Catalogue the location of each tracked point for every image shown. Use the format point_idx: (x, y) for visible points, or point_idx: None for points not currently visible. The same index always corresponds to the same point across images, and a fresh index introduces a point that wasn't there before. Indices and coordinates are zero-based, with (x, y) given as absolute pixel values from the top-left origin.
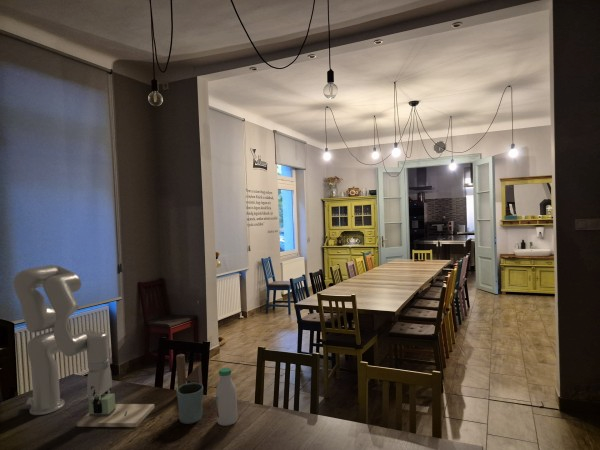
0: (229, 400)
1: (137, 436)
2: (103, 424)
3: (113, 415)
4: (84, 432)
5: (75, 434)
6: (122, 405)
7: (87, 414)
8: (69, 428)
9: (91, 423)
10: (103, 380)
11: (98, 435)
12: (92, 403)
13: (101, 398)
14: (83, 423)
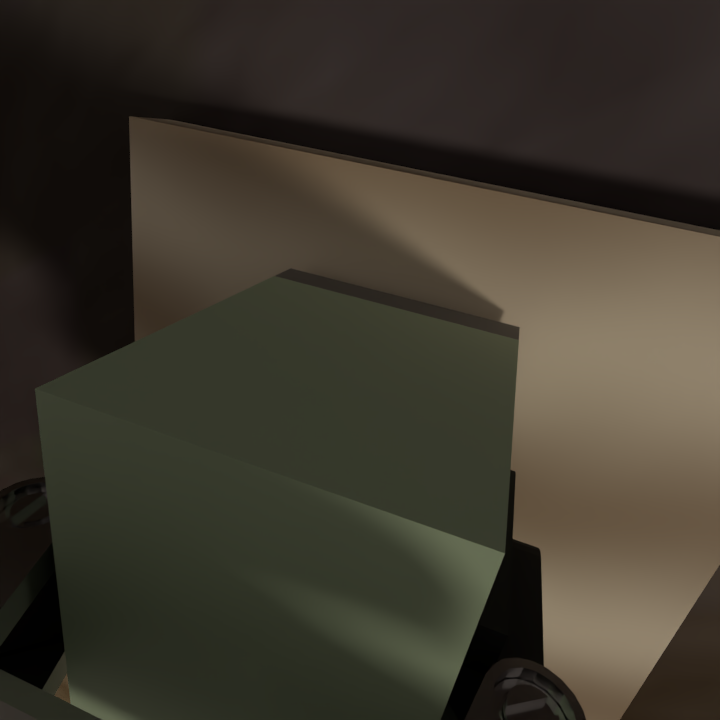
0: None
1: (62, 693)
2: None
3: None
4: (60, 298)
5: (14, 205)
6: (590, 665)
7: (386, 188)
8: (121, 18)
9: None
10: None
11: (35, 452)
12: (10, 495)
13: (115, 707)
14: (139, 238)
